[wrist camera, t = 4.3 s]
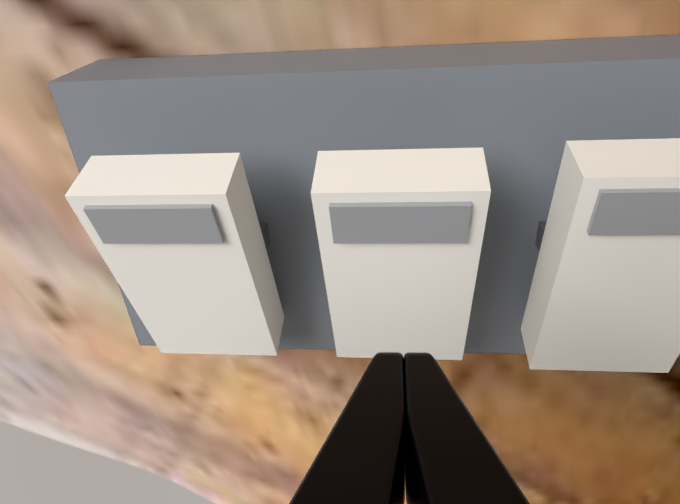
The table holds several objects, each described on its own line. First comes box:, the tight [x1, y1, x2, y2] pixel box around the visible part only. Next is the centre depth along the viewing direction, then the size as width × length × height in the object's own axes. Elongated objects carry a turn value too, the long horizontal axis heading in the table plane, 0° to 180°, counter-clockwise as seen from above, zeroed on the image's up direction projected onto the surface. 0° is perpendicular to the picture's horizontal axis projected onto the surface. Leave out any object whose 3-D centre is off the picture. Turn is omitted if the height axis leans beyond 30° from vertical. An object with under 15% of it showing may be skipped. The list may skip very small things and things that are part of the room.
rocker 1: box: [65, 153, 284, 356], centre depth 15 cm, size 7×4×2 cm, turn 4°
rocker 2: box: [311, 147, 491, 360], centre depth 15 cm, size 7×4×2 cm, turn 4°
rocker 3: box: [521, 138, 680, 373], centre depth 14 cm, size 7×4×2 cm, turn 4°
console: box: [48, 34, 680, 357], centre depth 17 cm, size 10×20×4 cm, turn 93°
